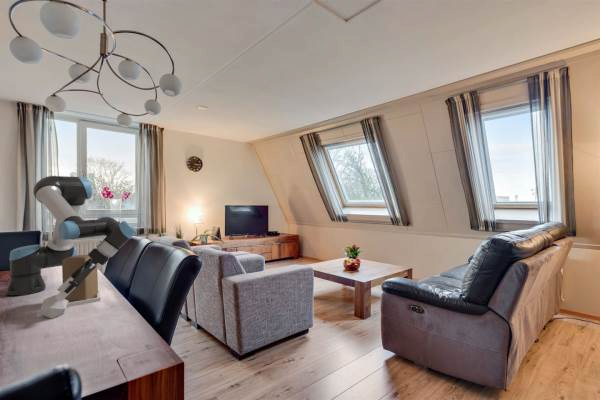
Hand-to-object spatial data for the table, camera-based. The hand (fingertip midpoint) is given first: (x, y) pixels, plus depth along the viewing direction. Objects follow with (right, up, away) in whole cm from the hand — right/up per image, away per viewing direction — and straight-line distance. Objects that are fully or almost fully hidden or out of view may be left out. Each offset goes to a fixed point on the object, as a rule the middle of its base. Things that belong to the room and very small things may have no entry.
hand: (58, 295), depth 120 cm
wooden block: (-4, -8, +18) cm, 20 cm away
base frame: (-4, -8, +18) cm, 20 cm away
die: (-1, -8, -1) cm, 8 cm away
